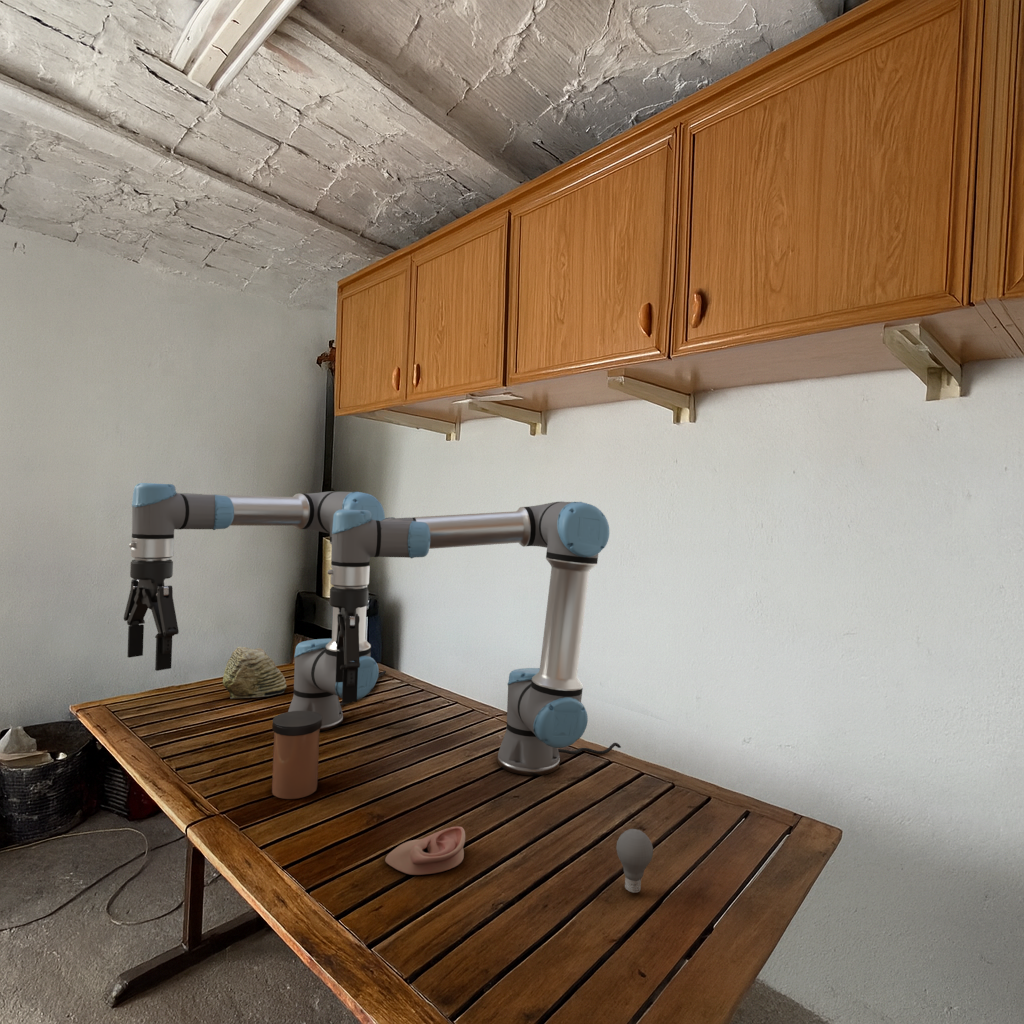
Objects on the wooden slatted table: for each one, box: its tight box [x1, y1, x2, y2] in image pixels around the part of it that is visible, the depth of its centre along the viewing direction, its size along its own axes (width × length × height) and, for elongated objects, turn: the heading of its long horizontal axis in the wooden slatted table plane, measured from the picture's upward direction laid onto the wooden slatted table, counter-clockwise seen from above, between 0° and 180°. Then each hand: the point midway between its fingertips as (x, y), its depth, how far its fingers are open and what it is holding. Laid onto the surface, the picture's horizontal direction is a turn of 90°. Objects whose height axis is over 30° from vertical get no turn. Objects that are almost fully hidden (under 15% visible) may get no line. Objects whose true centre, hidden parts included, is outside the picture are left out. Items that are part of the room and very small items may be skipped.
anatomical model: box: [384, 826, 466, 876], centre depth 113 cm, size 13×4×12 cm
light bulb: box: [615, 828, 654, 894], centre depth 106 cm, size 6×6×10 cm
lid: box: [271, 711, 322, 736], centre depth 137 cm, size 10×10×2 cm
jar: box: [271, 729, 321, 800], centre depth 137 cm, size 9×9×15 cm
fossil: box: [222, 646, 288, 699], centre depth 198 cm, size 9×18×15 cm, turn 132°
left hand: (148, 662), depth 129 cm, fingers open, 13 cm apart
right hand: (345, 691), depth 128 cm, fingers open, 13 cm apart
